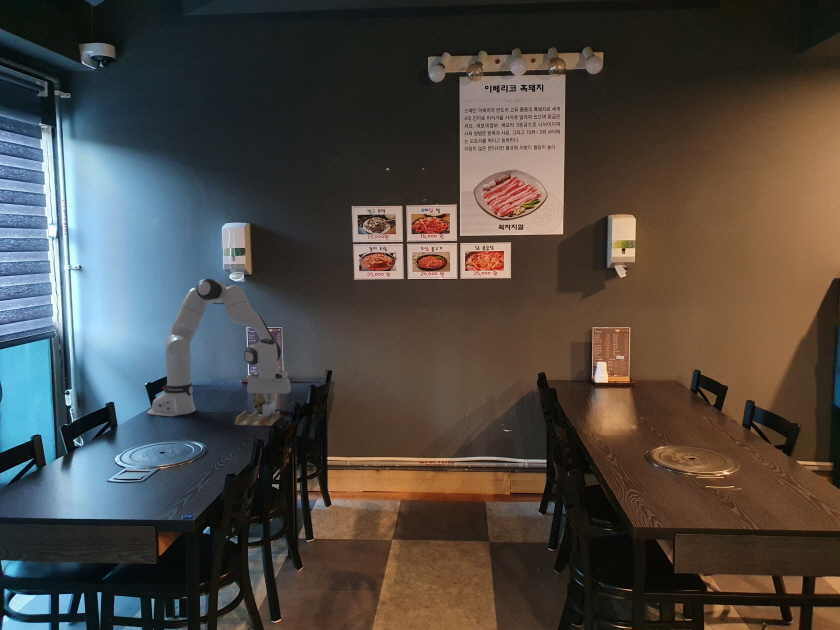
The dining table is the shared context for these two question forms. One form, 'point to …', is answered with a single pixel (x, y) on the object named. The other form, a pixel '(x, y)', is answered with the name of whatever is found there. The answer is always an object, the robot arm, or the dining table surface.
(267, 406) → the panel
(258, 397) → the coffee box
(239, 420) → the rack
